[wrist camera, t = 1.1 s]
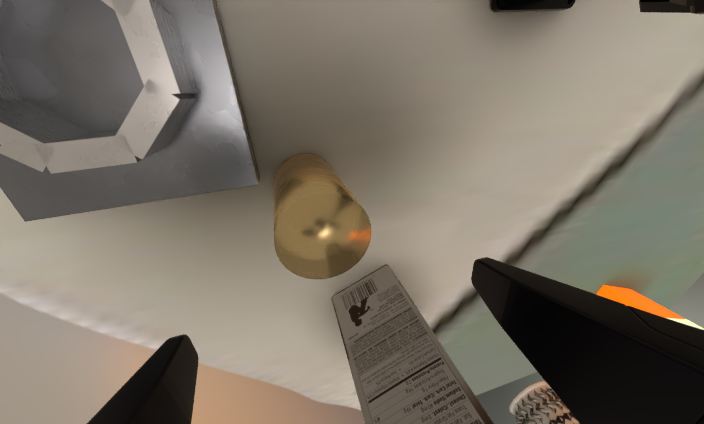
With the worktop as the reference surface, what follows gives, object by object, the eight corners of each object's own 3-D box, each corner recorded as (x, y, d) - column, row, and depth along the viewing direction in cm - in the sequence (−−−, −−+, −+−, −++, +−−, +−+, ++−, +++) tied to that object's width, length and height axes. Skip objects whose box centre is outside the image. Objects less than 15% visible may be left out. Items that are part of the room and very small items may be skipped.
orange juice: (566, 331, 39) (808, 528, 21) (603, 284, 36) (916, 465, 18) (595, 332, 42) (830, 506, 24) (632, 288, 39) (926, 449, 21)
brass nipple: (331, 149, 18) (368, 185, 11) (338, 206, 20) (373, 267, 13) (267, 158, 17) (263, 203, 10) (280, 217, 19) (285, 288, 12)
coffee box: (418, 317, 28) (566, 543, 14) (368, 347, 28) (465, 608, 14) (388, 261, 24) (558, 508, 10) (327, 297, 24) (409, 604, 9)
